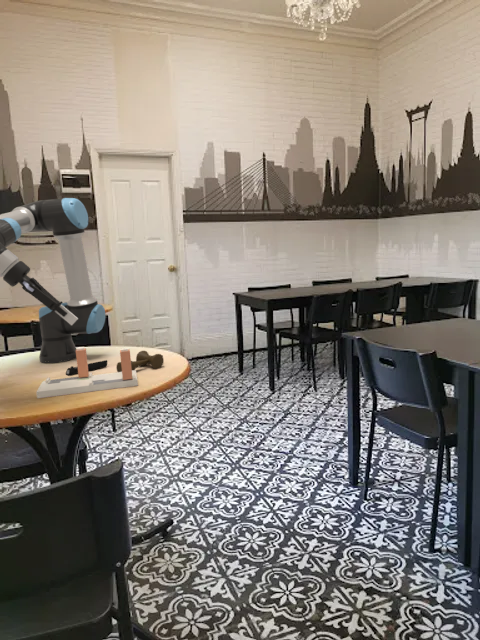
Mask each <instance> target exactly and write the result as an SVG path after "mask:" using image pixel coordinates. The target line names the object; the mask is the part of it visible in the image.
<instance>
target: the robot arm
mask: <svg viewBox="0 0 480 640" xmlns="http://www.w3.org/2000/svg"><path fill="white" fill-rule="evenodd" d="M88 226H89V214H88V211H87V209H86V206H85V205H84V203H83V202H82V201H81V200H80V199H78V198H74V197H64V198H54V199H44V200H43V199H42V200H41V199H40V200H36V201H33V202H30V203H27V204H24V205H21V206H17V207H15V208H13V209H12V210H11V211H10V212H5V213H1V214H0V278H1V277H3V278H2V279H3V281H5V282H6V283H7V285H9V286H10V287H16V286H17V285H18V284H19V285H21V288H22V289H23V290H24V291H25V292H26V293H28V294H29V295H31V296H32V297H34V298H35V299H36V300H37V301H38V302H40V303H41V304H43V305H44V306H42V307H40V308H39V310H38V320H39V326H40V327H39V328H40V335H41V341H42V342H41V347H40V352H39V363H43V364H51V363H52V364H53V363H54V364H55V363H63V362H67V361H72V360H75V359H77V358H76V349H77V347H76V344H75V343H74V341H73V337H72V335H78V334H79V335H80V334H88V335H90V334H97V333H99V332H101V331H102V329H103V327H104V326H105V323H106V311H105V307H104V306H103V305H102V304H101V303H99V302H98V299H97V298H96V297H95V296H93V293H92V286H91V281H90V275H89V270H88V264H87V259H86V254H85V248H84V243H83V236H84V234H85V233H86V232H85V229H86V228H87V227H88ZM51 231H52V234H53V237H54V238H55V239H57V241H58V244H59V245H58V246H59V249H60V254H61V260H62V265H63V268H64V274H65V278H66V279H65V280H66V284H67V288H68V289H67V290H68V294H69V298H70V299H69V301H68V302H63V301H60V300H59V299H57V298H56V297H55V296H53V294H51V293H50V292H49V291H48V290H47V289H46V288H44V286H42V285H41V283H39V281H38V280H37V279H35V278H34V277H30V276H28V274H29V272H31V267H30V266H29V265H28V264H26V263H25V262H23V260H19V259H20V258H19V256H17V255H16V254H15V253H13V252H12V251H11V250H10V249H8V248H7V247H9V246H10V245H12V244H14V243H16V242H17V240H18V239H20V238H21V236H22V233H24V234H25V233H26V234H27V233H30V232H51Z"/></svg>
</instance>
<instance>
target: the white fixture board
mask: <svg viewBox="0 0 480 640" xmlns="http://www.w3.org/2000/svg"><path fill="white" fill-rule="evenodd" d="M132 378H133V379H127V380H123V377H122V372H117V371H116V372H109V373H107V372H106V373H100V374H93V372H89V376H88V377H81V378H79V376H70V377H64V378H57V379H56V378H55V379H51V377H47V378H46V379H45V380H43V381H41V383H40V385H39V386H38V389H37V390H36V398H37V399H43V398H44V399H45V398H49V397H50V398H51V397H58V396H65V395H73V394H75V395H76V394H83V393H89V392H99V391H104V390H106V391H107V390H112V389H113V390H114V389H121V388H130V387H137V386H139V381H138V373H137V370H136V369H135V370H132Z"/></svg>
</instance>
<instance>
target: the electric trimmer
mask: <svg viewBox="0 0 480 640" xmlns="http://www.w3.org/2000/svg"><path fill="white" fill-rule="evenodd" d="M107 366H108V360H107V359H106V360H100V361H95V362H90V363H89V362H88V372H91V371H92V372H93V371H96V370H99V369H103V368H105V367H107ZM75 374H78V367H77V366H75V367H74V366H72V365H71V366H70V367H68V368H67V369H66V372H65V375H66V376H68V377H73V375H75Z"/></svg>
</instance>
